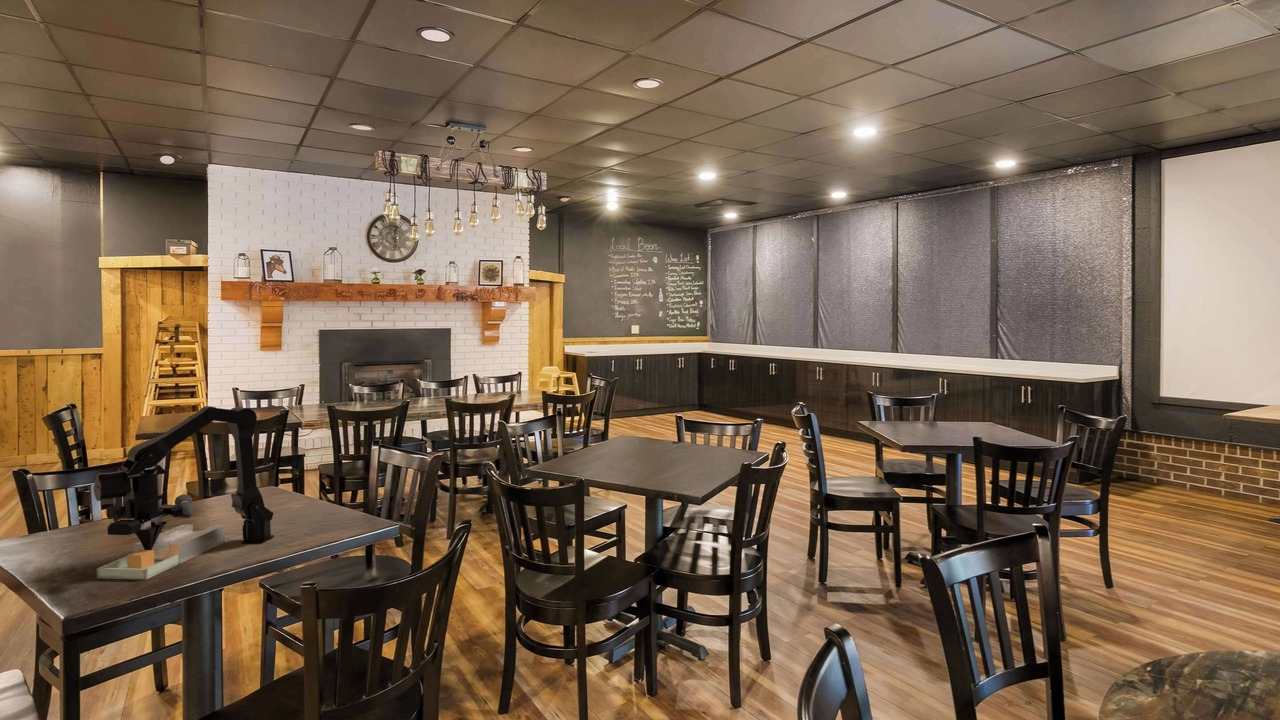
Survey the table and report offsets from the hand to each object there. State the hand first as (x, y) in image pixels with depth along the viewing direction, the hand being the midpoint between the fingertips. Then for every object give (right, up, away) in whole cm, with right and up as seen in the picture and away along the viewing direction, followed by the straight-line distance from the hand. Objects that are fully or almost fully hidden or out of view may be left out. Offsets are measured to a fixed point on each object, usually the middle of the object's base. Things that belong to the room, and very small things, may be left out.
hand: (148, 551), depth 179 cm
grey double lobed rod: (-26, -2, +54) cm, 60 cm away
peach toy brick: (0, -2, 0) cm, 2 cm away
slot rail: (+1, -4, +12) cm, 12 cm away
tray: (0, -4, -3) cm, 5 cm away
